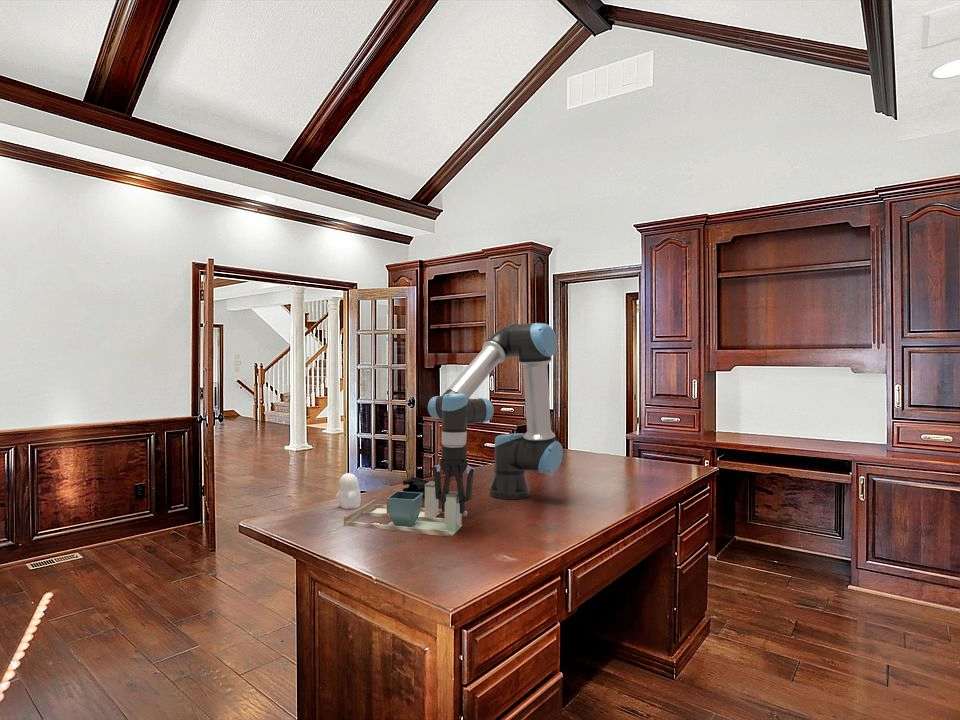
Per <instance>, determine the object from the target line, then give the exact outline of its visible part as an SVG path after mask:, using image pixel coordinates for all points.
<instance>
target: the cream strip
mask: <svg viewBox="0 0 960 720" xmlns="http://www.w3.org/2000/svg"><path fill="white" fill-rule="evenodd" d="M429 481H430V480H429ZM424 508H425V512H422V511H420V513H419V516H423V517H434V518H437V516H438V515H440V514H441V513H438V509H439V499H436V495H435V481H432V480H431V481H430V482H428V483H426V484H425V498H424ZM371 512H375V513H387V509H385V508H375V509H373V510H371Z"/></svg>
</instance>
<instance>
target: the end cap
mask: <svg viewBox="0 0 960 720" xmlns="http://www.w3.org/2000/svg"><path fill="white" fill-rule="evenodd" d="M428 482H430V480H427V479H423V478H421V477H420V478H419V477H415V476H410V478H409V479H404V480H402V486H406V485H408V487H405V488H404V487H403V488H402V491H403V492H417V493H423V497H422V500H423V499H425V484H426V483H428Z"/></svg>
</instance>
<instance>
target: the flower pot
mask: <svg viewBox="0 0 960 720" xmlns="http://www.w3.org/2000/svg"><path fill="white" fill-rule="evenodd" d="M422 497H423V493H417V492H403V490H402V491H399V490H398V491H397V490H396V491H395V492H393V493H392V494H391V495H388V497H386V498H387V499H386V502H387V501H388V510H389V515H390V518H389V519H390V520H391V521H392V522H393V523H394V525H396V526H408V527H409V526H411V525H412V524H413V523H415V521H416V520H417V518H418V516H419V513H420V512H421V511H420V510H421V508H422V505H423V499H422Z"/></svg>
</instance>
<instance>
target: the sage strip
mask: <svg viewBox="0 0 960 720" xmlns="http://www.w3.org/2000/svg"><path fill="white" fill-rule="evenodd" d="M458 502H459V495H458V490H457V491H456V490H449V492H448V494H446V524H445V522H433V521H421V520H416V521H415V523H413V524H412V525H411V526H409V527H416V528H427V529H438V530H448V536H451V537H452V536H454V535H455V534H456V533H457V532H458V531H459V530H460V529H461V527H463V524H462V523H461V524H460V525H457V503H458ZM386 525H394V523H393V522H392V520H391V521H390V522H389V523H387V524H386ZM394 526H396V525H394ZM405 527H408V526H405Z"/></svg>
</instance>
